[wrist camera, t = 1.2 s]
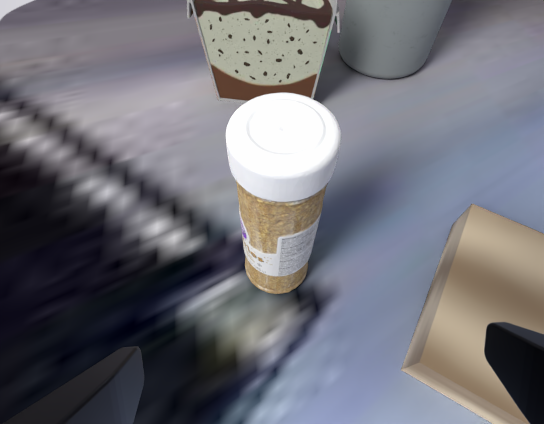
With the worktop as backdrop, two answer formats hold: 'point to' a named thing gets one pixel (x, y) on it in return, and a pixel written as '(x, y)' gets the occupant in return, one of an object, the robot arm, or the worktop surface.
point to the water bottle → (390, 35)
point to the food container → (264, 44)
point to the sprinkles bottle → (281, 182)
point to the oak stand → (478, 310)
